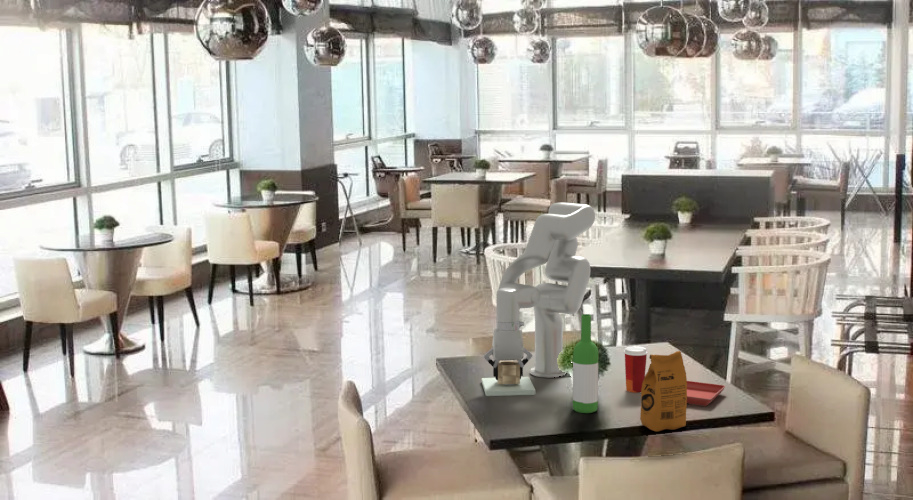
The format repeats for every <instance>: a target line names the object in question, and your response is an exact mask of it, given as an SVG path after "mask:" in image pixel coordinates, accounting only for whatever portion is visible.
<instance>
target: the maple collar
mask: <svg viewBox="0 0 913 500" xmlns="http://www.w3.org/2000/svg"><path fill="white" fill-rule="evenodd" d="M497 367H498V380H497V381H498V384H520V365H519V363H518V361H517V360H500V361H499V363H498V365H497Z"/></svg>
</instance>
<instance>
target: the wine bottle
mask: <svg viewBox="0 0 913 500" xmlns="http://www.w3.org/2000/svg"><path fill="white" fill-rule="evenodd" d="M580 322H581V324H580V326H581V327H580V329H581V330H580V341H578V342H577V343H576V345H574V348H573V353H572V356H573V357H572V359H573V360H572V363H573V368H572V409H573V411H575V412H576V413H580V414H591V413H595V412H596V411H597V410H598V409H599V408H598V406H599V403H598V402H599V349H598V347H597V345H596V344H595V343H594V342H593V341H592V315H591V314H590V313H589V314H588V313H584V314H581V321H580Z"/></svg>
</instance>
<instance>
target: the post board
mask: <svg viewBox="0 0 913 500" xmlns="http://www.w3.org/2000/svg"><path fill="white" fill-rule="evenodd" d="M481 384H482V388H483V391H484V394H485V396H486V397H494V396H495V397H498V396H499V397H501V396H502V397H504V396H534V395H536V389H535V386H534V384H533V382H532V381H531V379H530V376H521V379H520V384H498V381H497V380H496V378H495V377H482V378H481Z"/></svg>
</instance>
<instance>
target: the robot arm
mask: <svg viewBox="0 0 913 500" xmlns="http://www.w3.org/2000/svg"><path fill="white" fill-rule="evenodd" d="M595 219H596V212H595V209H594V208H593V207H592V206H591V205H590V204H585V203H572V202H563V201H562V202H555V203H552V204H551V205H550V206H549V208H548V213H544V214H543V213H542V214H540V215H539V216H538V217H537V218H536V219H535V222H534V224H533V227H532V230H531V233H530V234H529V235H530V236H529V238H528V241H527V244H526V246H525V249H524V252H523V253H522V254H521V255H519V256H518V257H517V258H515V259H514V260H513V261H512V262H511V263H510V264H509V265H508V266H507V267H506V268H505V271H504V272H503V274H502V276H501V280H500V283H499V285H498V289H497V291H496V296H495V298H496V299H495V300H496V302H495V303H496V305H495V306H496V311H495V312H496V328H494V329H493V333H492V334H493V335H492V343H491V344H492V345H491V348H490V349H489V350H488V351H487V352H486V353H485V354H483V358H484V359H485V360H486V362H488V364H489V365H490V366H492V367H493V368H492V369H493V378H496V380H498V367H497V365H498V363H499V361H513V360H517V361H518V363H519V365H520V379H521V377H524V375H523V374H524V367H525V365H527V363H528V362H529V361H530V360H531V359H532V358H533V354H532V352H530V351H529V350H527V348H525V347H524V338H523V331H522V328H521V327H524V326H525V322H524V321H521V320H520V310H521V309H530V308H533V311H534V367H531V368H530V370H529V373H530V374H531V375H532V376H534V377H537V378H543V379H544V378H545V379H546V378H548V379H551V378H552V379H553V378H554V377H555V378H560V377H559V376H561V377H563V376H562V375H564V374H565V372H562V371H561V370H559V368H558V364H557V358H558V355H559V353H560V352H561V351H562V352H563V340H564V338H563V332H564V331H563V329H564V328H563V326H564V325H563V319H562V317H561V315H560V314H565V315H575V314H576V313H577V312H578V311H579V310H580V308H581V307H582V304H583V300H584V297H585V294H586V291H587V288H588V284H589V281H590V278H591V264H590V262H589V261H588V259H587V258H585V257H584V256H583V257H582V256H578V255H576V253H577V249H578V245H579V243H578V239H577V238H578V237H579V236H580V235H581V234H583V233H585V232H586V231H588V230H589V229H590V228H592V226H594V223H595ZM545 264H546V265H545ZM542 265H543V266H544V265H545V269H544V274H545V275H544V276H546V278H547V279H548V280H550V281H553V282H559V283H563V284H564V283H566V284H567V285H566V284H564V285H563V284H558V283H553V282H551V283H550V282H542V283H538V284H537V285H536V286H533V285H531V284H530V285H529V284H524V283H517V282H518V280H519V279H520V278H521V276H522V275H523V274H524V273H526V272H527V271H530V270H533V269H535V268H538V267H541V266H542ZM491 355H492V357H493V359H494V360H492V358H491V357H490V356H491ZM525 355H526V357H524V356H525ZM564 376H565V375H564ZM555 378H554V379H555Z"/></svg>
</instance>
